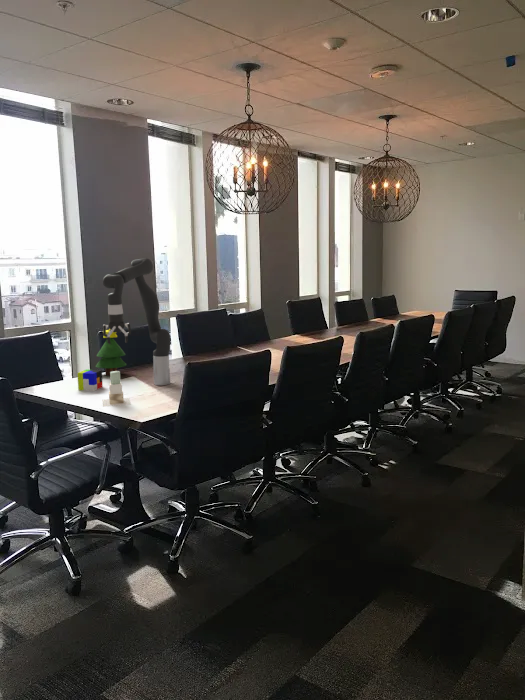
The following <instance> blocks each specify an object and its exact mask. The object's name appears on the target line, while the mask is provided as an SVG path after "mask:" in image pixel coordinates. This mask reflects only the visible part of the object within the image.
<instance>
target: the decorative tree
mask: <svg viewBox="0 0 525 700" xmlns="http://www.w3.org/2000/svg"><path fill="white" fill-rule="evenodd" d="M110 330H111V329H110V328H109V329H106V334H108V333H109V331H110ZM117 333H118V332H115V333H114V332H112V334H111V335H110V344H109V343H108V342H107V337H105V336H103V339H106V340H105V342H104V343H103V345H102V346H101V348H100V349H99V351H98V352H97V354H96V357H98V358H100V359H99V361H98V362H97V363H96V365H95V368H97V369H105V376H107V377H110V372H112V371H118V368H122V367H123V368H124V367H126V366H127V363H126V362H125V361H124V359H122V357H124V356H126V353H125V351H124V350H123V349H122V348H121V346H120V345H119V343H117V341H116V340H115V339H114V338H118V335H117Z"/></svg>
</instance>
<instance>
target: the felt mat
mask: <svg viewBox="0 0 525 700" xmlns="http://www.w3.org/2000/svg"><path fill="white" fill-rule="evenodd" d="M123 399H124V403H119V404H110V402H109V398H108V399H102V407H111V406H112V407H114V406H116V407H117V406H126V405H127V406H128V405H132V403H131V399H130V397H123Z"/></svg>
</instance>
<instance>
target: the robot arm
mask: <svg viewBox="0 0 525 700" xmlns="http://www.w3.org/2000/svg"><path fill="white" fill-rule="evenodd" d="M153 270H154V264H153V262H152V260H151V259H149V258H147V257H145V258H139V259H138V258H136V259H133V260H132V261H131V263H130V267H125V268H124V269H123V268H122V269H121V270H119V271H117V272H112V273H109V274H106V275H105V276H104V277H103V279H102V284H103V286H104V288H107V289H113V290H114V291H113V292H110V293H109V294H107V313H108V324H103V325H102V335H103V337H104V336H105V337H107V338H106V340H107V342H108V343H109V344H110V335H111V334H112V332H114V333H115V332H117V333H121V332H122V333H123V334H124V342H125V343H126V344H127V343H128V342H129V336H130V335H132V330H131V323H130V322H127V323H125V321H124V319H125V318H124V310H123V309H124V307H123V303H122V302H123V301H122V294H123V289H124V284H126V283H128V282H130V281H132V280H135V283H136V286H137V289H138V292H139V296H140V299H141V304H142V307H143V310H144V314H145V318H146V321H147V325H148V326H147V327H148V332H149V333H148V334H149V338H150V340H151V342H153V343H154V344H156V347H155V349H154V350H153V351H152V355H153V356H152V358H153V359H152V361H153V384H154V385H155V386H166V385H171V368H170V350H171V334H170V332H169V331H168V329H165V328H162V327H161V324H160V320H159V315H160V302H159V299H158V295H157V293H156V292H155V291H154V289H153V288H151V286H149V284H148V283H147V282H146V280H145V277H144V276H147V275H149V274H151V273H152V272H153ZM125 327H126V328H127V331H128V332H126V330H125V329H124V328H125ZM108 328H109V329H111V330H110V331H109V333H108V334H106V330H108Z"/></svg>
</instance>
